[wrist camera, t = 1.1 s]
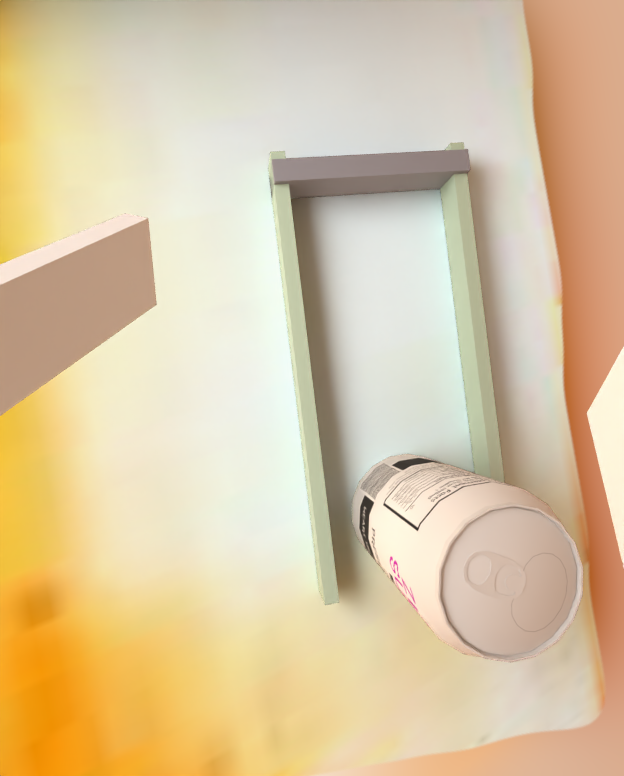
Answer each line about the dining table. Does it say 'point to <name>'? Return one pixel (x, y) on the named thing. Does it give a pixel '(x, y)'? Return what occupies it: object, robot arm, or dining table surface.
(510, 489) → the supplement can
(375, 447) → the dining table surface
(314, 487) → the guide channel
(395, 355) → the dining table surface
